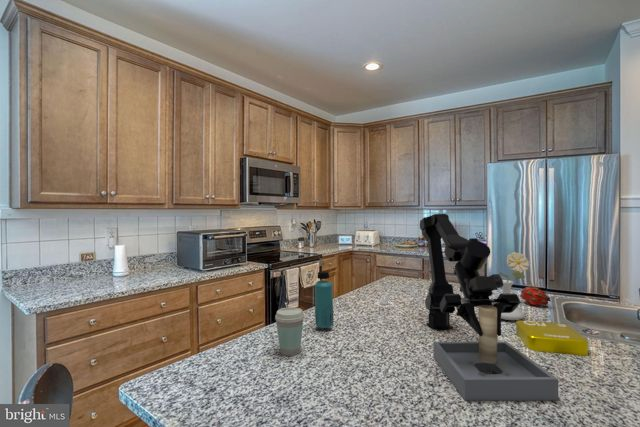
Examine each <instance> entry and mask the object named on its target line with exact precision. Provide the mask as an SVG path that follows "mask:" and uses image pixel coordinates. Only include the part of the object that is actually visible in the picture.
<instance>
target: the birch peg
mask: <svg viewBox="0 0 640 427" xmlns="http://www.w3.org/2000/svg"><path fill="white" fill-rule="evenodd" d="M478 321H479V324H480V326H481V329H482V333H483V335H482V336H479V335H478V342H479V360H481V361H482V362H485V363H489V364H495V363H497V342H498V335H497V308H496V307H494V306H490V305H480V306H479V307H478Z"/></svg>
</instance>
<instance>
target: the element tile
mask: <svg viewBox="0 0 640 427" xmlns="http://www.w3.org/2000/svg"><path fill="white" fill-rule="evenodd" d="M515 328H516V329H515V331H516V332H515V334H516V335H517V337H518V338H519V339H520V341H521V342H522V343H523V344H524V346H526V348H527V349H528V350H531V351H535V352H544V353H553V354H561V355H562V354H563V355H572V356H582V357H583V356H585V357H586V356H588V355H589V340H588V339H587V338H585V337H584V336H583V335H582V334H580V333H579V332H578V331H576V330H575V329H574V328H572V327H571V326H570V325H568V324H566V323H558V322H546V321H545V322H544V321H532V320H516V322H515Z"/></svg>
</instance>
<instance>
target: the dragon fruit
mask: <svg viewBox="0 0 640 427" xmlns="http://www.w3.org/2000/svg"><path fill="white" fill-rule="evenodd" d="M519 298H521V299H522V300H524V301H525V303H526V304H527V305H533V306H535V307H537V308H543V306H544V305H545V306H548V305H549V302H552V301H551V297H550V296H549V295H547V293H546V292H545V291H544V290H542V289H540V288H538V287H537V286H532V285H530V286H529V285H528V286H526V287H524V288H523V289H522V290H521V294H520V295H519ZM542 305H543V306H542Z"/></svg>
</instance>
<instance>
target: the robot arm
mask: <svg viewBox="0 0 640 427" xmlns="http://www.w3.org/2000/svg"><path fill="white" fill-rule="evenodd" d="M419 229H420V230H421V235H422V236H423V238H424V239H425V240H426V242H427V248H428V256H429V264H430V273H431V283H430V285H429V287H428V289H427V290H428V293H427V295H426V297H425V300H424V306H425V308H426V310H428V312H429V313H428V322H426V326H429V327H430V328H432V329H434V330H436V331H443V330H445V331H446V330H449V329H453V328H454V326H453V325H451V320H450V318H451V317H450V314H453V313H455V311H456V314H455V315H456V316H457V317H460V318H462V320H464V321H465V322H466V323H467V324H468V325H469V326H470V327H471V328H472V329H473V331H475V332H476V333H477V335H478V337H479V336H482V335H483V333H482V329H481V326H480V324H479V318H478V316H477V315H476V311H475V308H477V307H478V308H479V306H480V305H490V306H494V307H496V308H497V337H500V336H501V335H502V319H501V313H511V312H513V311H514V310H515V309H516V308H518V307H519V305H520V304H521V299H520V296H518V295H517V294H516V293H514V292H513V293H511V292H510V293H503V292H502V293H499V295H498V296H497V297H496V298H490V297H492V295H493V294H494V292H493V291H497V290H498V289H499V288H502V286H503V281H502V280H503V278H502V277H501V276H502V275H501V274H500V273H496V274H495V273H493V274H491V275H489V276H487V275H486V276H485V275H484V276H481V274H480V272H479V270H481V269H482V268H483V266H484V265H485V263H486V261H487V260H488V258H489V256H491V249H490V247H489V246H487V244H486V243H484V242H482V241H479V239H478V237H477V238H475V237H471V238H469V239H467V238H466V237H463V236H460V234H459V233H458V231H457V229H456V227H455V226H454V225H453V223H452V221H451V220H450V218H449V214H446V213H434V214H431V215H429V216H426V217H425V216H424V217H423V218H421V220H420V221H419ZM442 241H443V243H444V245H445V246H444V253H443V246H442ZM444 255H445V258H446V259H447V261H448V262H453V263H455V262H456V263H455V264H454V270H453V275H455V276H456V277H457V280H458V282H459V292H461V293H462V295H463V297H461V294H459V293H454V287H453V285H452V284H451V283H449V282H448V281H447V276H446V268H445V267H446V266H445V260H444Z"/></svg>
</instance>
